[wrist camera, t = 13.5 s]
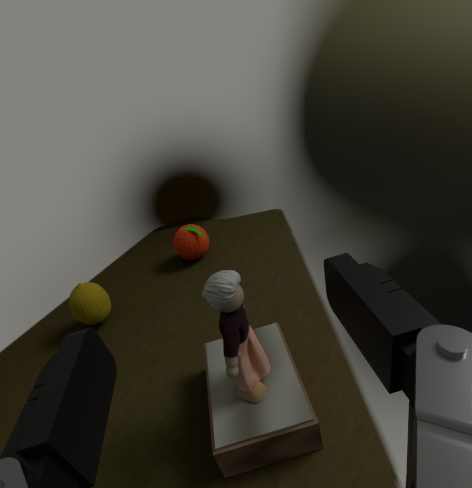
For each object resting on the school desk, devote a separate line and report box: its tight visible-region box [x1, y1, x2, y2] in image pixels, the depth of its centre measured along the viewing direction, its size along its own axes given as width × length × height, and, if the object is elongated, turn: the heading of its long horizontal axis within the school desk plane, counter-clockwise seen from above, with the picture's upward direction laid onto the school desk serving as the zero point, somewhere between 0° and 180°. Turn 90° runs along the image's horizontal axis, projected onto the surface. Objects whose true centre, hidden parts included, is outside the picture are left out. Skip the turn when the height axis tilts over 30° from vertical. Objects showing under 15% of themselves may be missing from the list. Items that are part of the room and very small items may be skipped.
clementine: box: [174, 224, 209, 260], centre depth 59 cm, size 8×7×7 cm
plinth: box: [204, 322, 323, 478], centre depth 31 cm, size 9×12×4 cm
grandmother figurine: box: [202, 270, 270, 403], centre depth 26 cm, size 8×4×13 cm, turn 6°
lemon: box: [69, 282, 111, 325], centre depth 47 cm, size 6×6×8 cm
